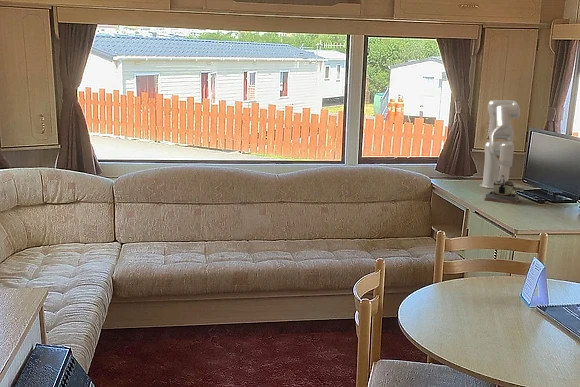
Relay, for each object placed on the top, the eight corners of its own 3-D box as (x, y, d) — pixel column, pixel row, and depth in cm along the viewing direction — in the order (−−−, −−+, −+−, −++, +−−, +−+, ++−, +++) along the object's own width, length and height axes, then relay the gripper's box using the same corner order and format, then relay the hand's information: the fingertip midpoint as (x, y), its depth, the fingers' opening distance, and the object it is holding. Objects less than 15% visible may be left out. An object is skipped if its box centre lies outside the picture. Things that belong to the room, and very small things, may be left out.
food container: (513, 196, 347) (514, 181, 343) (512, 199, 342) (514, 184, 338) (491, 194, 351) (493, 179, 348) (491, 197, 346) (492, 182, 342)
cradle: (488, 196, 355) (489, 190, 354) (518, 199, 347) (519, 194, 346) (484, 200, 344) (485, 194, 343) (515, 204, 336) (516, 198, 335)
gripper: (501, 161, 350) (498, 189, 354) (496, 164, 335) (493, 194, 339) (514, 162, 346) (511, 190, 350) (509, 166, 331) (506, 195, 335)
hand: (502, 192), depth 344 cm, fingers open, 6 cm apart
